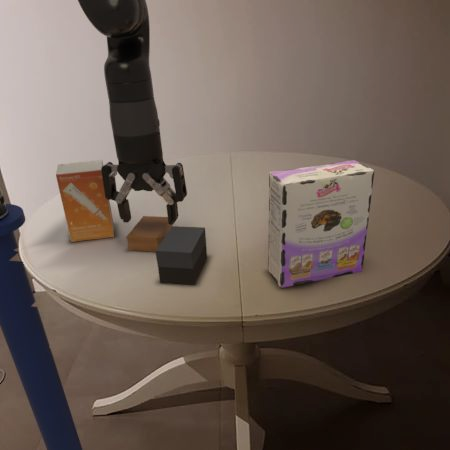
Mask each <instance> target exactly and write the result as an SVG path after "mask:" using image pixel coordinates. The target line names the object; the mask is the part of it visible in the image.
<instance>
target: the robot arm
mask: <svg viewBox="0 0 450 450" xmlns="http://www.w3.org/2000/svg"><path fill="white" fill-rule="evenodd" d="M77 2H78V4H79V6H80V8H81V10H82V12H83V13H84V15H85V16H86V18H87V20H88V21H89V22H90V24H91V25H92V27H94V28H95V30H96V31H98V32H99V34H101V35H103V36H105V37H106V45H107V58H106V60H105V62H104V63H103V74H104V80H105V81H104V82H105V86H106V92H107V98H108V107H109V119H110V125H111V130H112V136H113V142H114V148H115V153H116V158H117V161H118V163H117V164H114V163H113V162H111V161H108V162H107V163H105V164H103V167H102V168H101V171H102V178H103V185H104V192H105V198H106V199H108V200H109V201H115V202H116V204H117V209H118V210H117V211H118V215H119V218H120V220H122V222H123V223H124V224H128V223H129V222H130V221H131V219H132V215H131V214H132V213H131V208H130V207H131V206H130V201H129V199H128V196H129V194H130V192H131V191H132V190H134V192H140V191H145V192H153V191H154V192H155V193H156V194H157V195H158V196H160V197H161V198H162V199H163V200H164V201H165V202H166V203H167V204H166V213H167V217H168V222H169V224H172V225H174V224H175V222H177V220H178V218H179V207H178V203H179V202H180V203H182V202H183V201H184V200H185V198H186V197H187V196H188V190H187V183H186V178H185V171H184V166H183V164H182V163H181V162H177V163H175V164H166V163H165V161H164V154H163V153H164V152H163V145H162V137H161V129H160V128H161V127H160V125H161V123H160V118H159V115H158V114H159V113H158V108H157V105H156V99H155V94H154V85H153V77H152V73H151V67H150V53H151V51H150V50H151V49H150V43H151V42H150V40H151V38H150V36H151V35H150V33H151V32H150V16H149V10H148V9H149V8H148V4H147V0H77ZM166 174H168V176H169V178H171V179H173V180H172V181H173V185H174V190H173V188H172V187H171V185H170V183H169V181H167V180H166V178H165V176H166ZM117 175H119V176H120V177H121V178H122V180H123V181H124V182H123V183H122V185H121V187H120V188H119V191H118V190H117V182H116V177H117ZM6 204H7V203H6V200H5V196H4V194H3V191H2V189H1V187H0V220H2V219H4V218H5V217H7V216H8V214H9V212H8V209H7V208H6Z"/></svg>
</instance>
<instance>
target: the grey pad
mask: <svg viewBox="0 0 450 450" xmlns="http://www.w3.org/2000/svg"><path fill="white" fill-rule="evenodd" d="M206 235H207V234H206V227H200V226H199V227H197V226H177V225H172V228H171V229H170V231H169V232H168V233H167V235H166V236H165V238H164V239H163V241H162V242H161V244H160V245H159V247H158V248H157V250H156V252H155V256H156V261H157V262H156V263H157V268H158V267H169V268H186V269H193V268H194V266H195V264H196V262H197V260H198V258H199V256H200V254H201V252H202V250H203V248H204V246H205V244H206V245H207V236H206Z"/></svg>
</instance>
